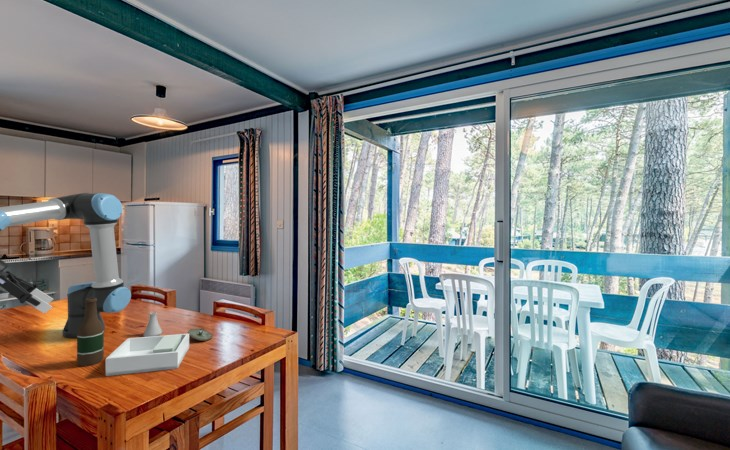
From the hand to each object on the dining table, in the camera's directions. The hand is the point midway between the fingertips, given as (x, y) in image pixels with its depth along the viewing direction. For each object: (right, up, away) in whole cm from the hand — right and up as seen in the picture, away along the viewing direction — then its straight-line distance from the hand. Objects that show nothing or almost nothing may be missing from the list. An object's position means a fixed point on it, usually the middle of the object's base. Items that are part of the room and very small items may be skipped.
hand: (49, 306), depth 116 cm
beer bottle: (+8, -23, +8) cm, 26 cm away
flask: (+12, -23, +38) cm, 46 cm away
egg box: (+35, -22, +12) cm, 43 cm away
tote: (+29, -23, +10) cm, 39 cm away
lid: (+36, -23, +33) cm, 54 cm away
